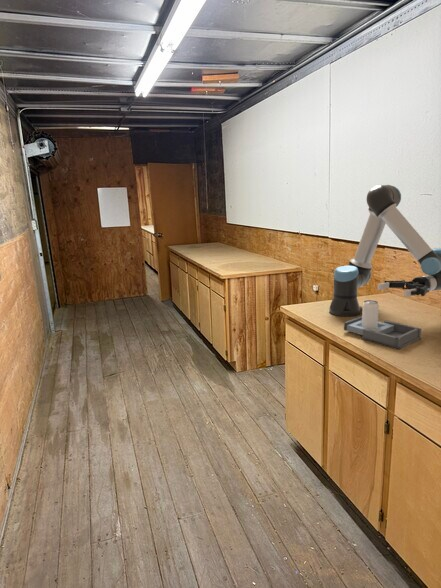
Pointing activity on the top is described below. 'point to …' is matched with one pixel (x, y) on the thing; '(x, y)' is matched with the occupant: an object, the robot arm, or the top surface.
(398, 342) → the tray
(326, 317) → the top surface
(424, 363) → the top surface
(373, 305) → the can
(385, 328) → the tray
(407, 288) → the robot arm
